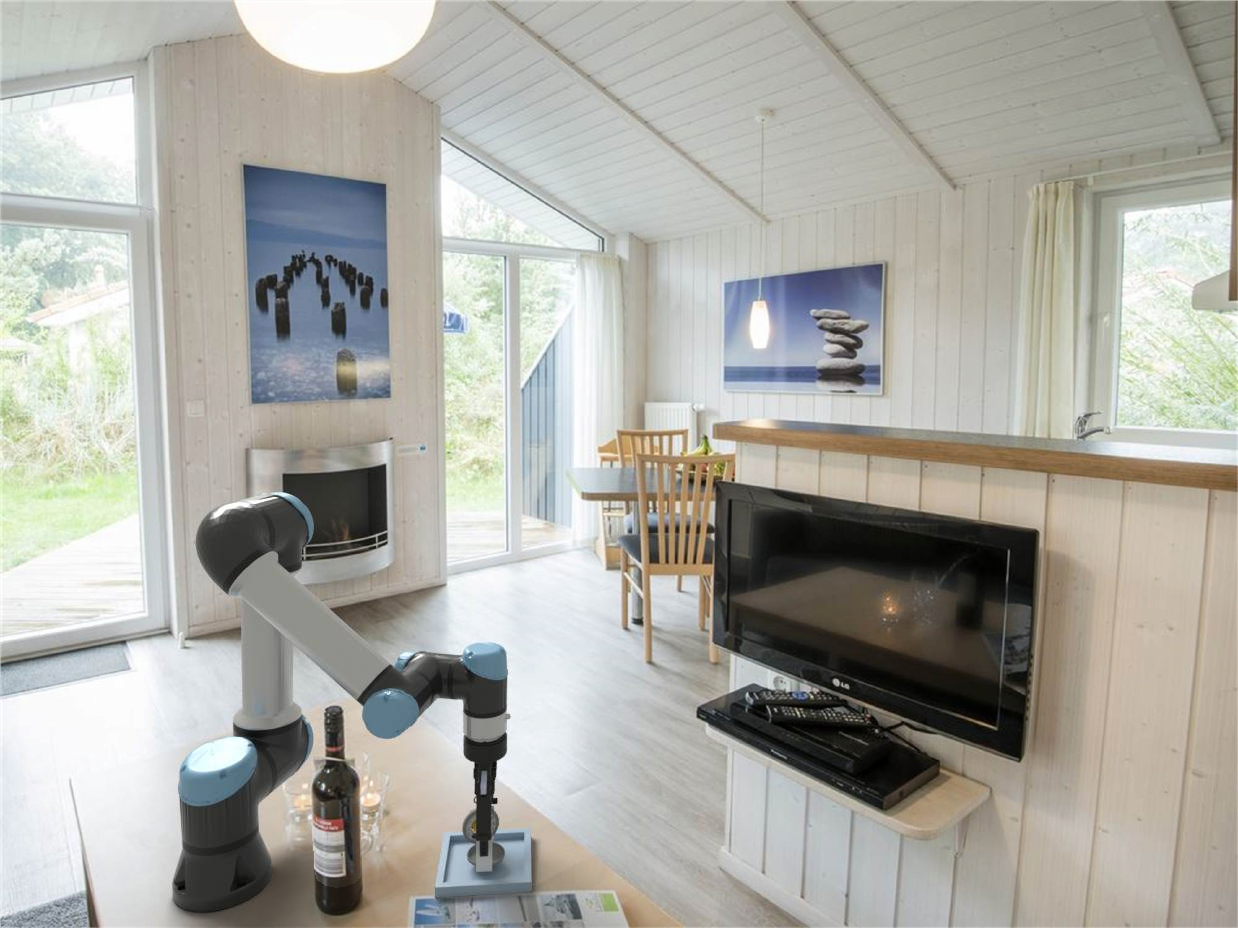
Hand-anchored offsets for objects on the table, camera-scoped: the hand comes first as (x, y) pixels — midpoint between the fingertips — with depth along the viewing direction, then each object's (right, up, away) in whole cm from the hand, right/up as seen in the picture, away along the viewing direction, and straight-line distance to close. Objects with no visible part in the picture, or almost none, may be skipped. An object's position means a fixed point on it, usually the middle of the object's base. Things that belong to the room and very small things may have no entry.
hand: (485, 854), depth 143 cm
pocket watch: (0, 0, +1) cm, 1 cm away
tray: (0, -2, 0) cm, 2 cm away
